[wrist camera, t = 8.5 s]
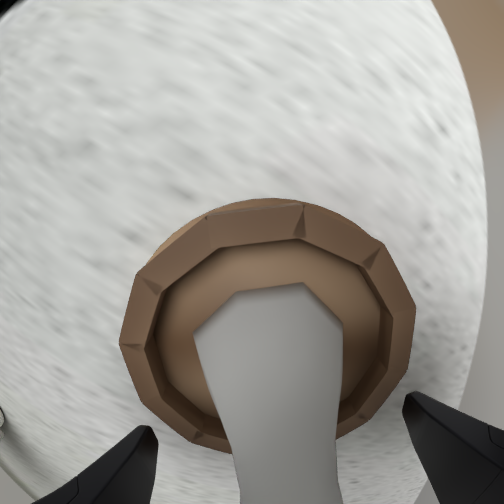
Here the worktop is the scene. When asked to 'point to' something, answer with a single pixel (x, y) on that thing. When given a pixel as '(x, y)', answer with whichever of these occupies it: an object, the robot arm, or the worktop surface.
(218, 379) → the flask
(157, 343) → the walnut collar
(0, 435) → the paper towel roll
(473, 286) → the worktop surface
